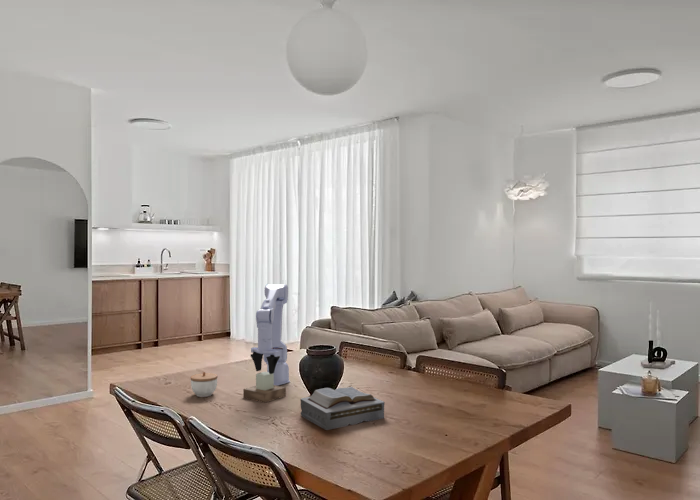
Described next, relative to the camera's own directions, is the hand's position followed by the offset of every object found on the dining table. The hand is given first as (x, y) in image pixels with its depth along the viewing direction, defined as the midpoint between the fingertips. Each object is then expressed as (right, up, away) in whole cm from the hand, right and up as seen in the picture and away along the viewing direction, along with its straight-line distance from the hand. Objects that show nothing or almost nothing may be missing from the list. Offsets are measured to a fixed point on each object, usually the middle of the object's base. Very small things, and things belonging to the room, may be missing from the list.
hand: (265, 372), depth 225 cm
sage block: (0, -6, -1) cm, 6 cm away
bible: (+32, -11, -27) cm, 43 cm away
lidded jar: (-25, -10, +3) cm, 27 cm away
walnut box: (0, -10, 0) cm, 10 cm away
